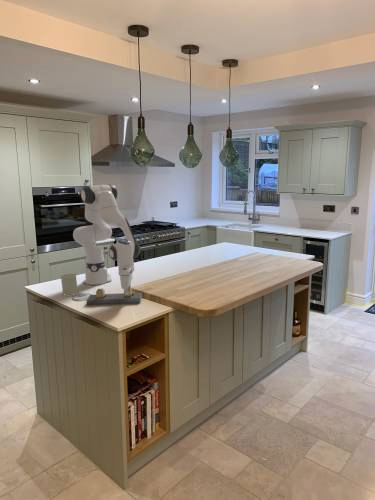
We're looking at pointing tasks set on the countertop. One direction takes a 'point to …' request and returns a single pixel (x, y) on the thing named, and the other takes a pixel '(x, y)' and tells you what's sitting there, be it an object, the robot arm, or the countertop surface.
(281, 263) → the countertop surface
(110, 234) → the robot arm
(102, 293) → the tan square peg
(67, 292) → the glass tumbler
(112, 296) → the grey peg hole board
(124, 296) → the wooden post chunk
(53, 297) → the countertop surface
